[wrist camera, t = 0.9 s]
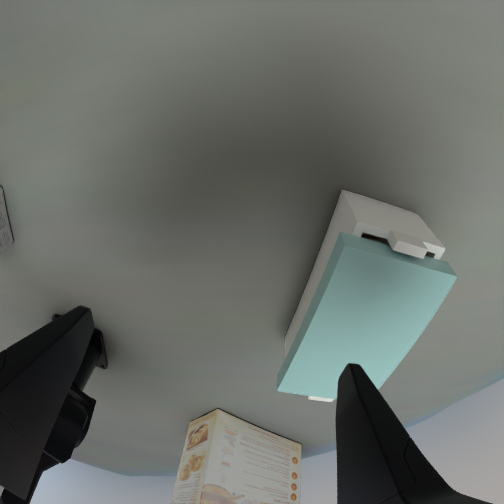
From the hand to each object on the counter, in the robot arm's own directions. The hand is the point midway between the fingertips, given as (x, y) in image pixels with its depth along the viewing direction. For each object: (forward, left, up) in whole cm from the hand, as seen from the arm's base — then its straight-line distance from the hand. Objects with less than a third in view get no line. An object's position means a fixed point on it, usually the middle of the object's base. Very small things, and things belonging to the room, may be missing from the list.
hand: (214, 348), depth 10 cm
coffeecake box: (-33, -7, -13) cm, 36 cm away
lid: (-5, -9, -8) cm, 13 cm away
